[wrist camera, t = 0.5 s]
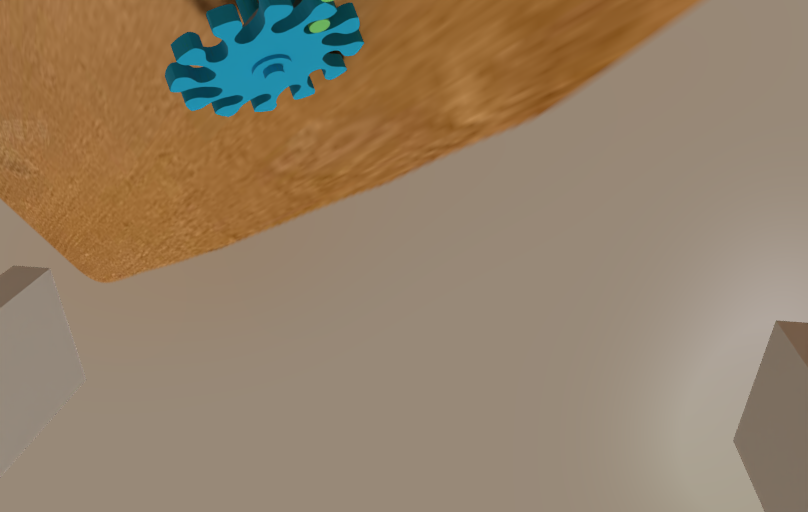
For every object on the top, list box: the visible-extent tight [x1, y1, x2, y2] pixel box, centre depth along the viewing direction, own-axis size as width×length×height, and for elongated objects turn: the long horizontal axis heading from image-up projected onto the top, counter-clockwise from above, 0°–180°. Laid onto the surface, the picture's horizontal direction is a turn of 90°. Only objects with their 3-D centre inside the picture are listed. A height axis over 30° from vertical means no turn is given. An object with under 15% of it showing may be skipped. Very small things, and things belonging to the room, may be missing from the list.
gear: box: [165, 0, 364, 117], centre depth 31 cm, size 11×6×10 cm
